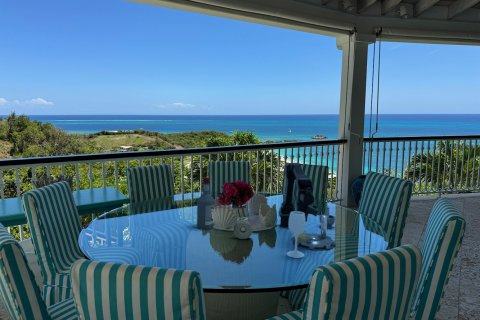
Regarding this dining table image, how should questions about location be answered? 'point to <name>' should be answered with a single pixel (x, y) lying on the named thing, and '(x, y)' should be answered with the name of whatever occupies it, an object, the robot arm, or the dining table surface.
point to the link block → (302, 236)
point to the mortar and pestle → (328, 218)
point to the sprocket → (317, 238)
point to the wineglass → (296, 230)
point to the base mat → (314, 249)
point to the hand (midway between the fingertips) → (301, 229)
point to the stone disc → (243, 234)
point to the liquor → (205, 207)
